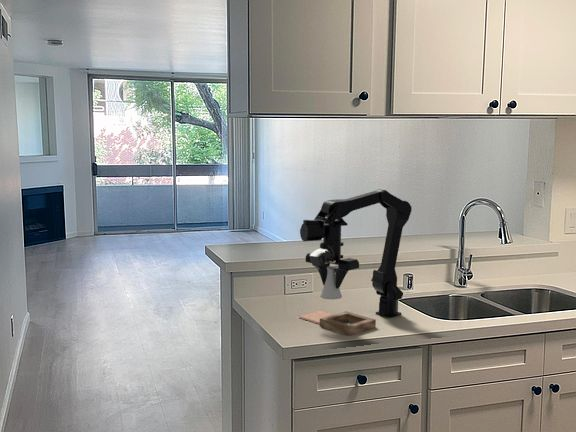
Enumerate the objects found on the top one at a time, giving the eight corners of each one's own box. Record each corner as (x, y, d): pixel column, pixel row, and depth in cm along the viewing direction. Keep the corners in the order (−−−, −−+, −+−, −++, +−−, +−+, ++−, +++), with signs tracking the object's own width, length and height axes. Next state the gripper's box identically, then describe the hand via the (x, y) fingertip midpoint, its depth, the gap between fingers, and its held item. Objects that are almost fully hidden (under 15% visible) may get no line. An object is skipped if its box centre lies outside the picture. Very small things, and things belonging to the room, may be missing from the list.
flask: (340, 294, 204) (340, 265, 203) (343, 300, 197) (344, 269, 195) (318, 294, 203) (319, 265, 202) (321, 300, 196) (321, 269, 195)
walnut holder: (346, 318, 205) (346, 311, 204) (375, 327, 196) (375, 319, 195) (319, 326, 196) (319, 318, 196) (349, 335, 187) (349, 327, 187)
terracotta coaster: (320, 312, 212) (320, 310, 212) (341, 318, 204) (341, 317, 204) (299, 317, 205) (299, 316, 205) (320, 324, 198) (320, 322, 198)
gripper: (294, 238, 199) (293, 285, 201) (337, 246, 185) (336, 296, 187) (317, 235, 206) (316, 280, 208) (360, 242, 193) (359, 290, 195)
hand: (331, 286), depth 200 cm, fingers closed on flask, 5 cm apart
